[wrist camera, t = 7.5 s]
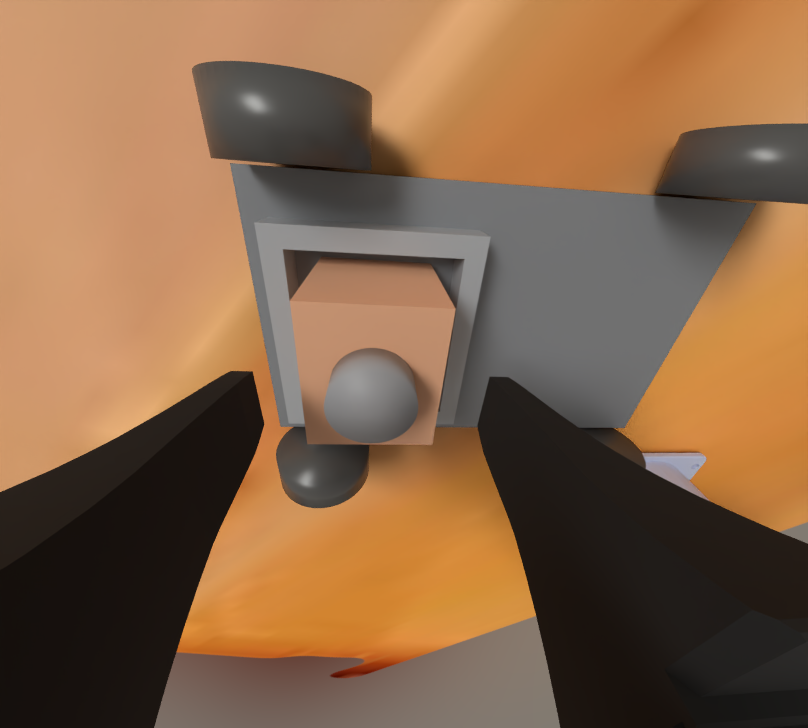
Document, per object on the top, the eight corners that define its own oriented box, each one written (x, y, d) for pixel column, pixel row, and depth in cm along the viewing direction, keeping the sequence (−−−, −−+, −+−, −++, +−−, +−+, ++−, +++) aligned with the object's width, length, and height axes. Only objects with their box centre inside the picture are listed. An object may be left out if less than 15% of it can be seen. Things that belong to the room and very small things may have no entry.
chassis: (601, 438, 20) (653, 501, 16) (289, 438, 19) (265, 509, 15) (761, 147, 12) (943, 134, 8) (229, 96, 10) (137, 49, 6)
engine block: (417, 369, 15) (437, 472, 10) (328, 367, 15) (299, 472, 10) (430, 263, 13) (466, 327, 7) (321, 256, 12) (276, 319, 7)
